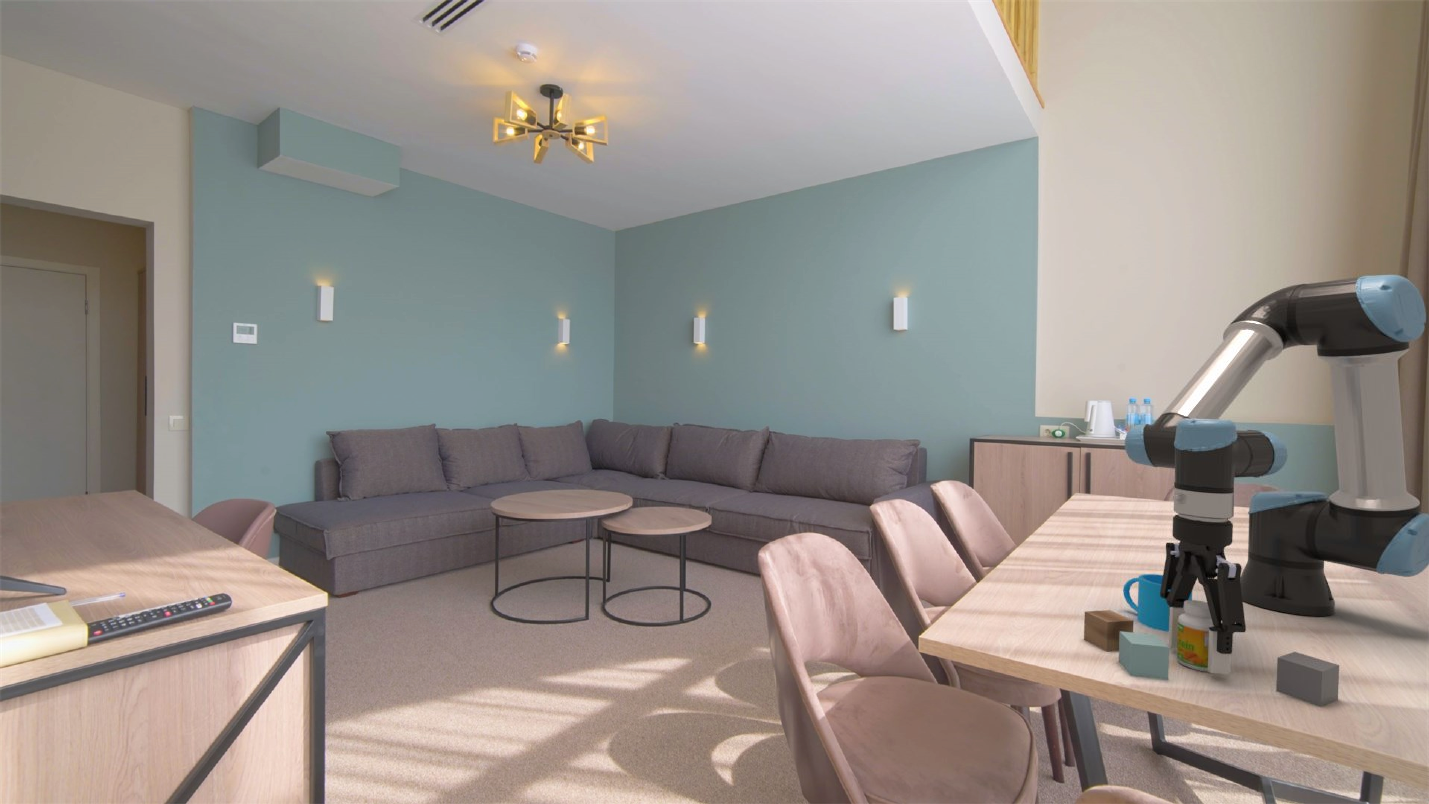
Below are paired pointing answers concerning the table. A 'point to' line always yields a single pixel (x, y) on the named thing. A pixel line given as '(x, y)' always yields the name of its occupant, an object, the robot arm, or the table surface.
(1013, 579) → the table surface
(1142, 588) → the mug
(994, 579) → the table surface
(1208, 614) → the supplement bottle
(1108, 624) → the walnut cube
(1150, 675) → the teal cube
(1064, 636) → the table surface
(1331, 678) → the charcoal cube
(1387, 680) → the table surface
